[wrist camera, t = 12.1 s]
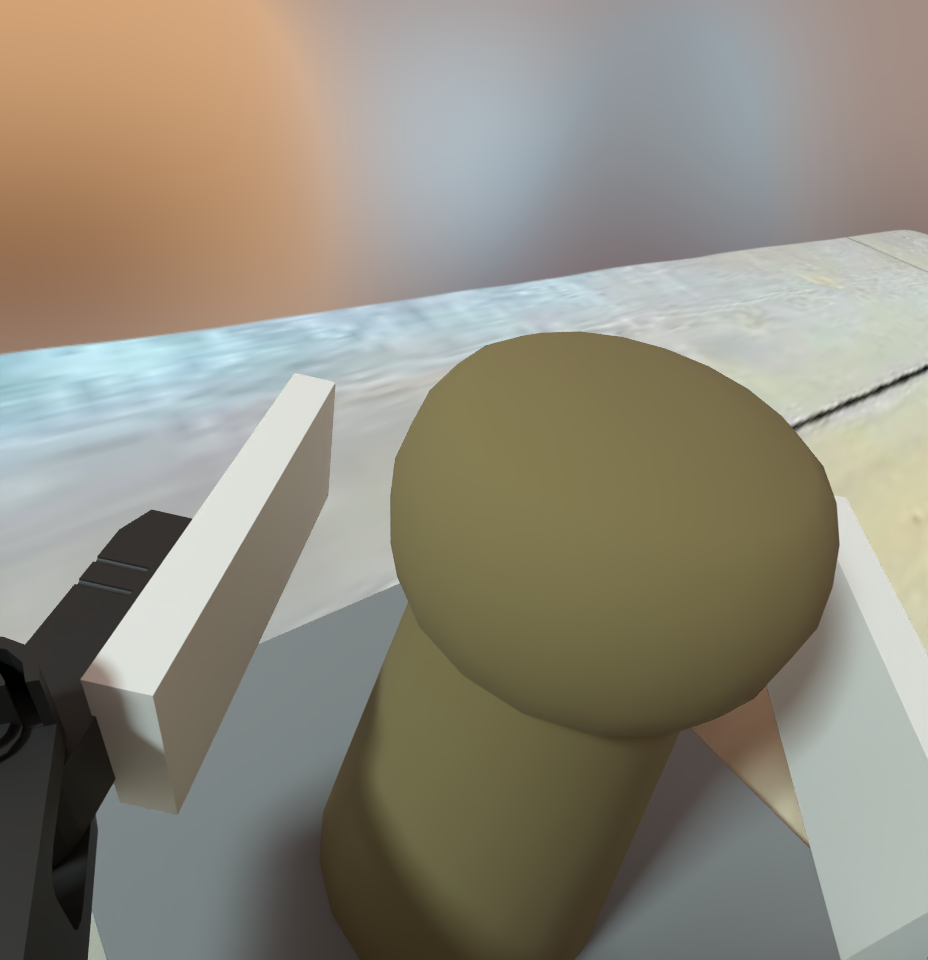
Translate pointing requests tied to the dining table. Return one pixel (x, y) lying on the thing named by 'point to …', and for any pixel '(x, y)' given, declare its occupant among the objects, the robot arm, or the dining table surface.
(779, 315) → the dining table surface
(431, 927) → the cork
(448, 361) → the dining table surface
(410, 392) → the dining table surface
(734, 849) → the mat
